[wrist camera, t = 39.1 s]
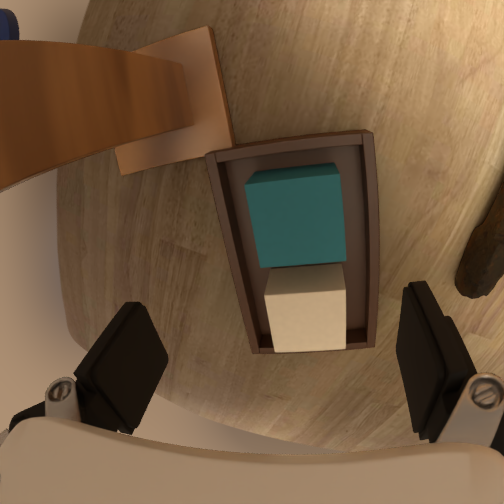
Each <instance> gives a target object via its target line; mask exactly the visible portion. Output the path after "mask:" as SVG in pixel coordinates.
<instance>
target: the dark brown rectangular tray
mask: <svg viewBox="0 0 504 504" xmlns="http://www.w3.org/2000/svg"><path fill="white" fill-rule="evenodd" d="M204 156H205V160H206V165H207V169H208V174H209V178H210V183H211V187H212V191H213V196H214V200H215V204H216V209H217V213H218V217H219V222H220V226H221V230H222V234H223V239H224V243H225V247H226V251H227V255H228V259H229V263H230V268H231V272H232V276H233V280H234V284H235V288H236V292H237V296H238V300H239V304H240V308H241V312H242V316H243V320H244V323H245V327H246V331H247V335H248V339H249V343H250V347H251V351H252V354H282V353H307V352H325V351H339V350H352V349H363V348H372V347H375V339H376V327H377V313H378V294H379V256H380V240H379V202H378V184H377V169H376V157H375V147H374V137H373V132H370V131H368V130H352V131H340V132H329V133H319V134H310V135H301V136H293V137H286V138H278V139H271V140H265V141H258V142H252V143H246V144H240V145H236V146H234V147H231V148H225V149H220V150H215V151H210V152H208V153H206V154H205V155H204ZM333 162H334V163H335V165H336V167H337V169H338V171H339V173H340V179H341V189H342V200H343V212H344V225H345V241H346V261H340V262H329V263H317V264H305V265H292V266H280V267H267V268H260V264H259V259H258V254H257V249H256V244H255V239H254V233H253V228H252V223H251V218H250V213H249V208H248V203H247V198H246V192H245V187H244V185H245V183H246V182H247V181H248V179H249V178H250V177H251V176H252V174H253V173H254V172H256V171H263V170H271V169H278V168H286V167H295V166H304V165H313V164H323V163H333ZM339 263H341V264H342V269H343V275H344V281H345V288H346V349H339V350H324V351H305V352H275V350H274V345H273V340H272V335H271V329H270V324H269V319H268V314H267V308H266V303H265V298H264V294H265V290H266V286H267V282H268V278H269V274H270V269H275V268H289V267H302V266H314V265H327V264H339Z"/></svg>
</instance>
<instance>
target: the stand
mask: <svg viewBox="0 0 504 504" xmlns="http://www.w3.org/2000/svg"><path fill="white" fill-rule="evenodd" d="M234 146H236V142H235V137H234V132H233V127H232V122H231V117H230V112H229V107H228V102H227V97H226V93H225V88H224V83H223V78H222V73H221V68H220V63H219V58H218V53H217V48H216V44H215V39H214V34H213V29H212V28H211V27H209V26H204V27H200V28H197V29H194V30H190V31H187V32H184V33H181V34H178V35H175V36H172V37H169V38H166V39H164V40H161V41H158V42H155V43H153V44H150V45H148V46H145V47H143V48H140V49H138V50H135V51H133V52H128V51H122V50H117V49H111V48H104V47H98V46H90V45H83V44H73V43H63V42H50V41H31V40H0V193H1V192H3V191H5V190H7V189H10V188H12V187H14V186H16V185H18V184H20V183H23V182H25V181H27V180H29V179H31V178H34V177H36V176H39V175H41V174H43V173H46V172H48V171H51V170H53V169H55V168H58V167H61V166H63V165H66V164H69V163H71V162H74V161H77V160H80V159H82V158H85V157H88V156H91V155H94V154H97V153H100V152H103V151H106V150H109V149H112V148H114V149H115V153H116V157H117V161H118V165H119V169H120V172H121V175H122V176H123V175H127V174H130V173H134V172H138V171H142V170H146V169H150V168H154V167H158V166H162V165H167V164H171V163H176V162H180V161H185V160H189V159H194V158H199V157H204V155H205V154H206V153H208V152H210V151H215V150H220V149H225V148H231V147H234Z"/></svg>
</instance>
